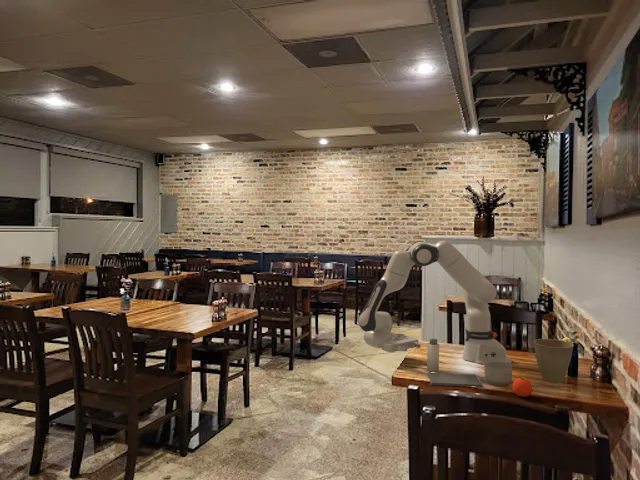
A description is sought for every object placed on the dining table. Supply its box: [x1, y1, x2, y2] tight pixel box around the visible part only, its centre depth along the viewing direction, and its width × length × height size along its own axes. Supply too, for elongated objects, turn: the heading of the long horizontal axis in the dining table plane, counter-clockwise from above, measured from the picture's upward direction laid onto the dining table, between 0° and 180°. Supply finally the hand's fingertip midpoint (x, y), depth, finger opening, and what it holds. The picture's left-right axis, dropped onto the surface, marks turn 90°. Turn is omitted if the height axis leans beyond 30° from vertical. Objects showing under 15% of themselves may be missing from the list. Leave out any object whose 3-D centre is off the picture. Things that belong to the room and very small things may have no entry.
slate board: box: [427, 371, 484, 388], centre depth 203 cm, size 20×14×1 cm
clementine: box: [512, 376, 534, 398], centre depth 185 cm, size 8×7×7 cm
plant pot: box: [533, 338, 574, 384], centre depth 204 cm, size 15×15×16 cm
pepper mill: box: [426, 338, 440, 373], centre depth 216 cm, size 5×5×14 cm
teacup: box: [483, 360, 513, 386], centre depth 202 cm, size 14×11×8 cm
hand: (413, 347), depth 225 cm, fingers open, 8 cm apart
